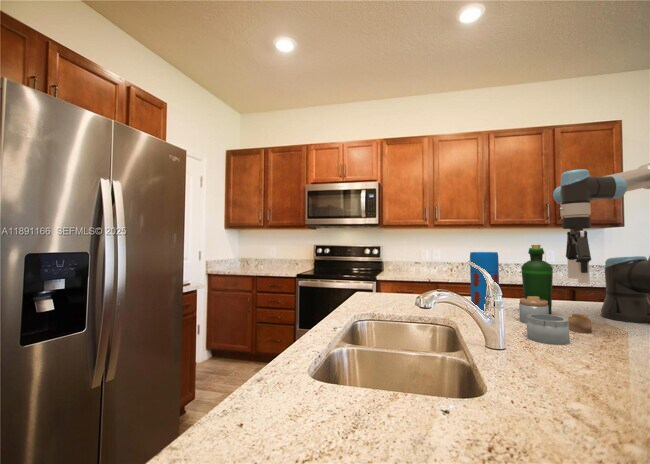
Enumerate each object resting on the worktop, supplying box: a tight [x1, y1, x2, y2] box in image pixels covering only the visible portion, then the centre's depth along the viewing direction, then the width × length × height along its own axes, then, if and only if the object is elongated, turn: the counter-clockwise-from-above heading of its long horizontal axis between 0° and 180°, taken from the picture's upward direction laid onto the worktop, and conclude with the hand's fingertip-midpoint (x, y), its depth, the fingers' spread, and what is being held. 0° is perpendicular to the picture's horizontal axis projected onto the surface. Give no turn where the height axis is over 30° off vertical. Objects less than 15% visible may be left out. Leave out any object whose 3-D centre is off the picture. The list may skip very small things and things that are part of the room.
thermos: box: [469, 251, 500, 311], centre depth 135 cm, size 11×11×25 cm
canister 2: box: [526, 314, 571, 346], centre depth 97 cm, size 11×11×6 cm
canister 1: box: [518, 296, 549, 324], centre depth 117 cm, size 9×9×9 cm
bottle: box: [520, 244, 554, 315], centre depth 129 cm, size 11×11×28 cm
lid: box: [567, 313, 593, 334], centre depth 106 cm, size 6×6×5 cm
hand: (578, 280), depth 106 cm, fingers open, 13 cm apart
